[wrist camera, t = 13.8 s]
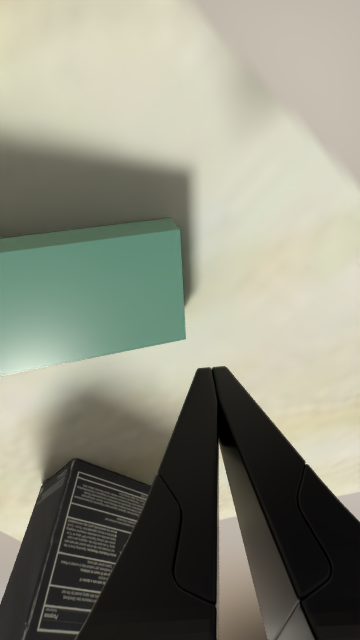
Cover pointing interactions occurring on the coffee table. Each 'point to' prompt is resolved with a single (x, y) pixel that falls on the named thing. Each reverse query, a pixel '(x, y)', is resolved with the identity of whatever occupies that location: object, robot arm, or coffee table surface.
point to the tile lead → (89, 293)
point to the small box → (69, 551)
